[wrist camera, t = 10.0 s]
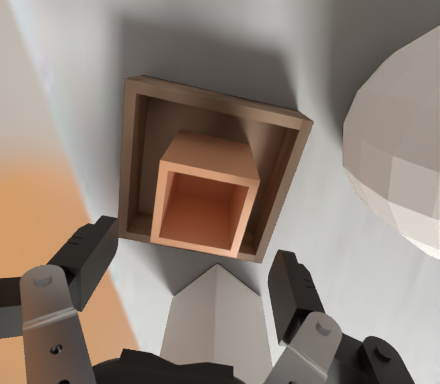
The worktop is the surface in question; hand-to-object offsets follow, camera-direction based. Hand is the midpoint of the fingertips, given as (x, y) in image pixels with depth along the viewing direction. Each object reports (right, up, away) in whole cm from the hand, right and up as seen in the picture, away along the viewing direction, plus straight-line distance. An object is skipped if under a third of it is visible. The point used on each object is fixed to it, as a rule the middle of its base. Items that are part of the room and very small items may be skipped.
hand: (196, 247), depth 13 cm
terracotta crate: (0, +5, +9) cm, 10 cm away
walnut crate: (0, +5, +9) cm, 11 cm away
